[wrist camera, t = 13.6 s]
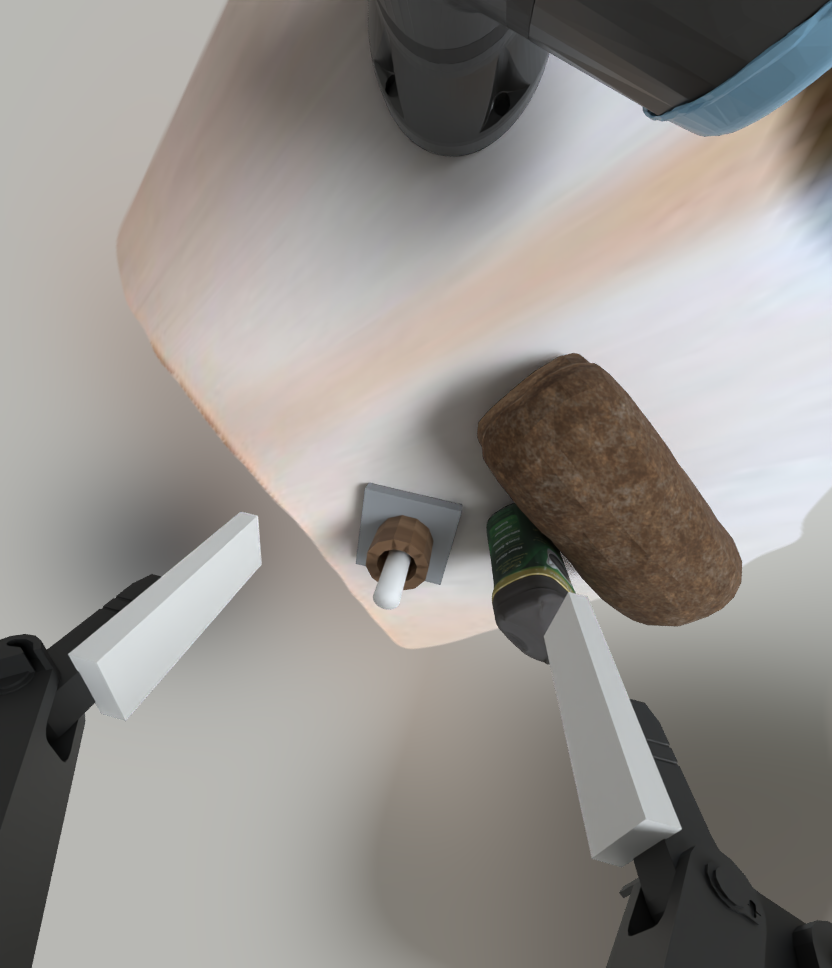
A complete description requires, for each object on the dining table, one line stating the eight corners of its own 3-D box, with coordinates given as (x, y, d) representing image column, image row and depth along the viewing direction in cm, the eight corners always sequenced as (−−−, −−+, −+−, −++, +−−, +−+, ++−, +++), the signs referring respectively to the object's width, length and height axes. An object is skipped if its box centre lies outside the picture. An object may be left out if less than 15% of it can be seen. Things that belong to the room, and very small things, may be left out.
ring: (381, 510, 47) (369, 533, 42) (437, 523, 47) (433, 549, 41) (374, 554, 51) (363, 581, 46) (426, 567, 50) (421, 596, 45)
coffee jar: (476, 521, 48) (479, 624, 31) (523, 492, 45) (554, 589, 28) (515, 564, 50) (537, 681, 34) (562, 539, 47) (611, 655, 30)
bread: (565, 335, 36) (626, 341, 22) (703, 527, 43) (817, 624, 29) (463, 421, 42) (459, 469, 28) (600, 577, 49) (652, 678, 35)
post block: (369, 482, 48) (332, 537, 35) (462, 504, 47) (458, 569, 34) (359, 555, 54) (326, 624, 42) (441, 576, 53) (432, 652, 41)
